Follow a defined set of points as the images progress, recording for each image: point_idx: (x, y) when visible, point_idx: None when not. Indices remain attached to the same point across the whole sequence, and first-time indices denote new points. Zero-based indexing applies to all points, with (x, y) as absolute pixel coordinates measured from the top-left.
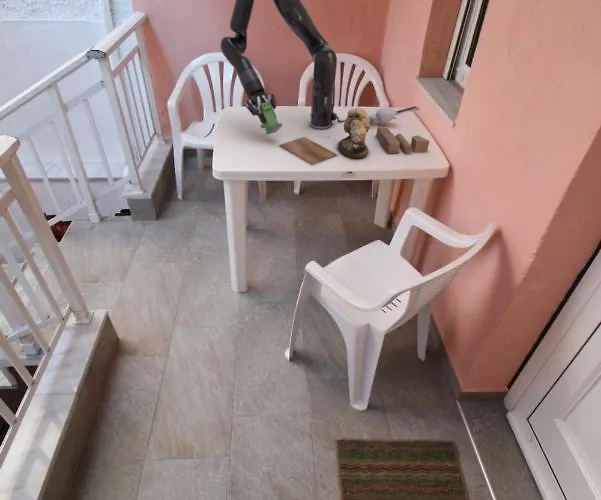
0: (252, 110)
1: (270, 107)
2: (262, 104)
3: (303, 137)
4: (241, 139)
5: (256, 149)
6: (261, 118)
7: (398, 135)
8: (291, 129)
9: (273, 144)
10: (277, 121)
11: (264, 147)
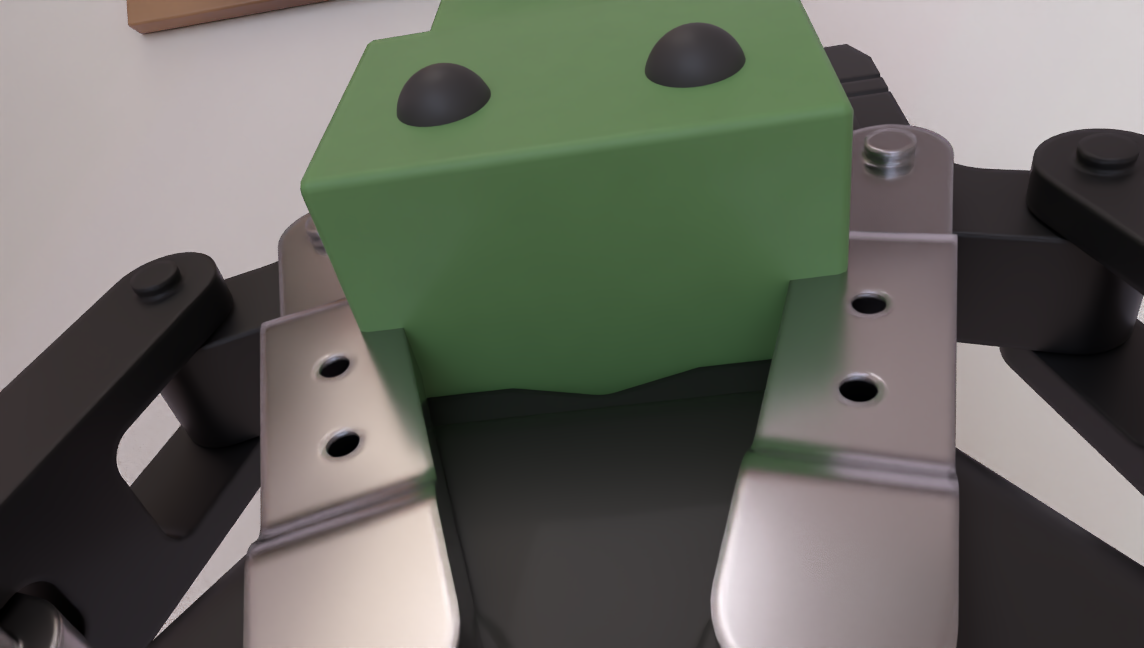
0: (1139, 421)
1: (453, 27)
2: (806, 76)
3: (146, 12)
4: (1094, 516)
5: (1031, 21)
6: (883, 85)
7: None
8: None
9: None
10: None
11: (867, 28)
